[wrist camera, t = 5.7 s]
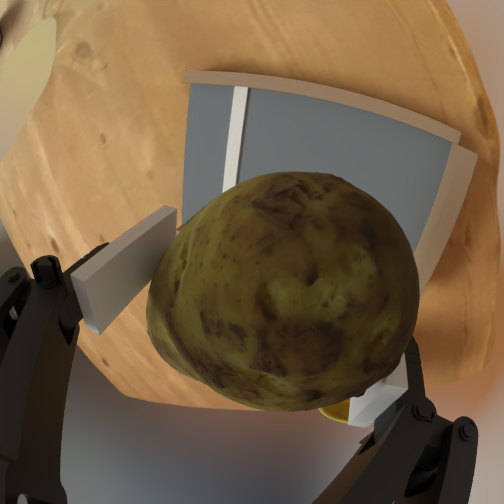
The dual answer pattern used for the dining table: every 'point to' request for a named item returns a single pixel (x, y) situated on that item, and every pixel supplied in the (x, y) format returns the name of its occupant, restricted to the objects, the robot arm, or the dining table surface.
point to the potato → (286, 293)
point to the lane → (326, 150)
